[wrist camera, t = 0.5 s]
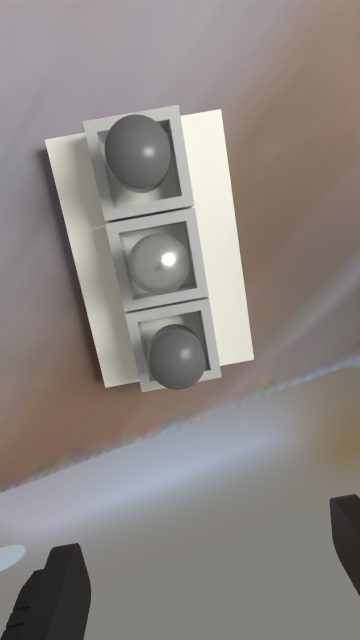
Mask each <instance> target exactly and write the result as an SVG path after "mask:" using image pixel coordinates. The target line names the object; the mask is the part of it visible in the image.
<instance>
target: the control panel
mask: <svg viewBox="0 0 360 640" xmlns="http://www.w3.org/2000/svg"><path fill="white" fill-rule="evenodd" d="M134 114H137V115H144V116H147V117H149V118H151V119H153V120H154V121H156V122H157V123H158V124H159V125H160V126H161V127H162V128H163V130H164V131H165V133H166V135H167V137H168V140H169V144H170V159H169V166H168V172H167V175H166V177H165V179H164V181H163V182H162V184H161V185H160V186H159V187H157V188H156V189H154V190H153V191H150V192H147V193H136V192H132V191H130V190H128V189H126V188H125V187H123V186H122V185H121V184H120V183H119V181H118V180H117V178H116V177H115V175H114V174H113V172H112V171H111V169H110V167H109V166H108V163H107V161H106V157H105V150H104V146H105V140H106V136H107V134H108V132H109V130H110V128H111V127H112V126H113V124H114V123H115V122H117V121H118V120H119V119H121V118H123V117H125V116H128V115H134ZM83 124H84V129H85V133H80V134H74V135H68V136H63V137H57V138H51V139H45V143H46V147H47V151H48V155H49V159H50V163H51V167H52V171H53V176H54V180H55V184H56V188H57V192H58V196H59V200H60V204H61V208H62V212H63V216H64V220H65V225H66V229H67V233H68V237H69V241H70V245H71V249H72V253H73V257H74V261H75V265H76V269H77V273H78V278H79V282H80V286H81V290H82V294H83V298H84V302H85V306H86V310H87V314H88V318H89V322H90V327H91V331H92V335H93V339H94V343H95V347H96V351H97V355H98V359H99V363H100V367H101V371H102V376H103V380H104V384H105V388H107V387H112V386H117V385H123V384H128V383H133V382H138V381H140V385H141V390H142V392H147V391H152V390H157V389H162V388H166V387H164V386H162V385H161V384H159V383H158V382H157V381H156V380H155V379H154V377H153V376H152V374H151V371H150V367H149V357H150V345H151V341H152V338H153V336H154V335H155V334H156V332H157V331H158V330H160V329H161V328H163V327H164V326H167V325H171V324H180V325H184V326H186V327H188V328H190V329H191V330H192V331H193V332H194V333H195V334H196V336H197V337H198V340H199V342H200V345H201V347H202V349H203V352H204V354H205V359H206V365H205V370H204V372H203V375H202V376H201V378H200V379H199V380H198V381H197V382H199V381H204V380H210V379H215V378H220V377H222V376H221V370H220V366H223V365H228V364H233V363H238V362H244V361H249V360H254V355H253V348H252V340H251V333H250V325H249V318H248V310H247V303H246V295H245V288H244V280H243V273H242V265H241V258H240V250H239V242H238V235H237V227H236V220H235V212H234V205H233V197H232V190H231V182H230V175H229V167H228V160H227V152H226V145H225V137H224V130H223V122H222V115H221V109H219V110H213V111H207V112H201V113H196V114H190V115H184V116H180V110H179V105H175V106H169V107H163V108H157V109H152V110H146V111H140V112H134V113H128V114H123V115H117V116H111V117H105V118H99V119H94V120H88V121H83ZM155 233H162V234H167V235H170V236H172V237H174V238H176V239H177V240H178V241H179V242H180V243H181V244H182V245H183V246H184V248H185V250H186V251H187V254H188V258H189V271H188V274H187V277H186V279H185V280H184V282H183V283H182V285H181V286H180V287H178V288H177V289H176V290H174V291H172V292H170V293H167V294H161V295H157V294H151V293H148V292H146V291H144V290H142V289H141V288H140V287H138V286H137V285H136V283H135V282H134V281H133V279H132V277H131V275H130V272H129V266H128V261H129V256H130V253H131V250H132V248H133V247H134V245H135V244H136V243H137V242H138V241H139V240H140V239H142V238H143V237H145V236H147V235H150V234H155Z"/></svg>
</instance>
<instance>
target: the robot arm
mask: <svg viewBox="0 0 360 640" xmlns="http://www.w3.org/2000/svg"><path fill="white" fill-rule="evenodd" d="M330 512H331V525H332V538H333V543H334V546H335V550H336V552H337V555H338V557H339V559H340V562H341V563H342V565H343V567H344V569H345V571H346V572H347V574H348V576H349V578H350V580H351V581H352V583H353V585H354V587H355V589H356V590H357V592H358V594H359V596H360V498H359V497H358V496H357V495H355V494H352V495H346V496H341V497H335V498H331V499H330ZM90 602H91V585H90V579H89V576H88V572H87V569H86V565H85V562H84V558H83V555H82V551H81V548H80V545H79V544H78V543H75V544H69V545H63V546H58V547H54V548H52V550H51V551H50V554H49V557H48V559H47V562H46V565H45V568H44V569H42V570H37V571H34V573H33V574H32V575H31V577H30V578H29V579H28V581H27V582H26V583H25V585H24V586H23V587H22V589H21V591H20V593H19V595H18V598H17V601H16V603H15V605H14V608H13V613H11V615H10V618H9V621H8V622H7V625H6V630H5V631H4V632H3V635H2V637H1V640H83V639H84V634H85V628H86V624H87V618H88V613H89V608H90Z"/></svg>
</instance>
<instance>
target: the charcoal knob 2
mask: <svg viewBox="0 0 360 640" xmlns="http://www.w3.org/2000/svg"><path fill="white" fill-rule="evenodd" d="M205 365H206V359H205V354H204V352H203V349H202V347H201V345H200V342H199V340H198V337H197V336H196V334H195V333H194V332H193V331H192V330H191V329H190V328H188V327H186V326H184V325H180V324H171V325H167V326H164V327H163V328H161V329H160V330H158V331H157V332H156V334H155V335H154V336H153V338H152V341H151V345H150V357H149V367H150V371H151V374H152V376H153V377H154V379H155V380H156V381H157V382H158V383H159V384H161V385H162V386H164V387H166V388H169V389H184V388H187V387H190V386H192V385H193V384H195V383H196V382H197V381H198V380H199V379H200V378H201V376H202V375H203V372H204V370H205Z"/></svg>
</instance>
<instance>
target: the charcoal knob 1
mask: <svg viewBox="0 0 360 640" xmlns="http://www.w3.org/2000/svg"><path fill="white" fill-rule="evenodd" d="M104 150H105V157H106V161H107V163H108V166H109V167H110V169H111V171H112V172H113V174H114V175H115V177H116V178H117V180H118V181H119V183H120V184H121V185H122V186H123V187H125V188H126V189H128V190H130V191H132V192H136V193H147V192H150V191H153V190H154V189H156V188H157V187H159V186H160V185H161V184H162V182H163V181H164V179H165V177H166V175H167V172H168V166H169V159H170V144H169V140H168V137H167V135H166V133H165V131H164V130H163V128H162V127H161V126H160V125H159V124H158V123H157V122H156V121H154V120H153V119H151V118H149V117H147V116H144V115H137V114H134V115H128V116H125V117H123V118H121V119H119V120H118V121H117V122H115V123H114V124H113V126H112V127H111V128H110V130H109V132H108V134H107V136H106V140H105V146H104Z"/></svg>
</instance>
